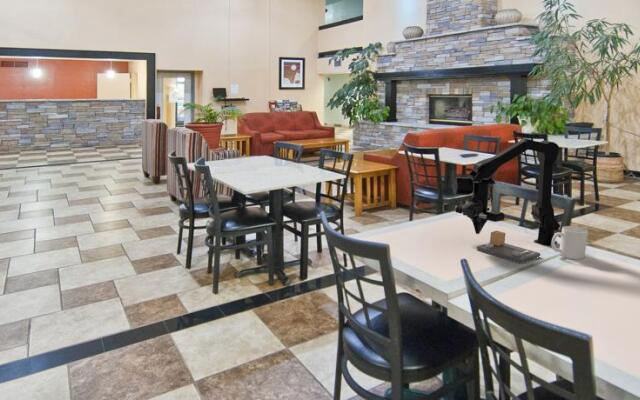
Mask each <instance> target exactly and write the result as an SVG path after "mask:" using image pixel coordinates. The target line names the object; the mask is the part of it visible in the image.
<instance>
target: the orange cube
mask: <svg viewBox="0 0 640 400" xmlns="http://www.w3.org/2000/svg"><path fill="white" fill-rule="evenodd" d="M489 243H493V244H494V245H497V246H500V245H503V244H505V243H506V232H504V231H500V230H495V231H491V232H490V238H489Z"/></svg>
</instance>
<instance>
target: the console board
mask: <svg viewBox="0 0 640 400" xmlns="http://www.w3.org/2000/svg"><path fill="white" fill-rule="evenodd" d="M476 251H479V252H481V253H485V254H488V255H492V256H495V257H498V258H501V259H504V260H506V261H507V260H508V261H510V260H511V261H510V262H513V261H515V263H517V262H519V263H518V264H520V263H522V264H524V263H523V262H525V263H527V262H526V261H528V262H530V261H529V260H531V259H533V260H535V259H534V258H536V259H538V258H537V257H539V256H540V257H541V252H538V251H535V250H530V249H527V248H523V247H520V246H518V245H517V246H516V245H513V244H509V243H506V242H505V244H503V245H500V246H497V245H494V244H493V243H490V242H486V243H485V244H481V245H478V246H476ZM540 257H539V258H540ZM531 261H532V260H531Z"/></svg>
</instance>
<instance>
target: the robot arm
mask: <svg viewBox="0 0 640 400" xmlns="http://www.w3.org/2000/svg"><path fill="white" fill-rule="evenodd" d="M529 150H530V151H533V152H536V157H537V160H538V164H539V172H538V173H539V174H538V175H539V176H538V187H537V188H538V190H537V194H538V195H537V201H536V203H535V204H531V213H530V215H532V219H533V220H534V221H535V223H536V225H538V226H539V227H538V234H537V239H534V240H533V242H534V243H537V244H542V245H545V246H549V247H550V246H552V245H551V243H552V238H553V236H554V235H555V234H556V231H559V230H560V228H561V224H560V223H559V222H558V221H557V220H556V219H555V218H556V217H555V209H554V207H553V204H552V192H553V191H552V190H553V189H552V188H553V179H554V177H553V175H554V174H553V173H554V165H555V163H556V162H557V160H558V157H559V154H560V146H559V145H558V143H556V142H554V141H550V140H546V139H545V140H541V141H538V140H537V141H536V140H532V139H530V138H527V137H523V138H521V139H520V140H519V141H517V142H516V143H513V144H512V145H511V146H509V147H507V148H506V149H504V150H502V151H500V152H499V153H498V154H496V155H494V156H492V157H488V158H484V159H482V160H479V161H477V162H476V163H475V164H474V165H473V167H472V170H471V171H470V172H469V173H468V175H466V177H463V176H462V177H461V176H456V177H454V179H455V180H454V182H453V184H452V193H453V195H454V196H455V195H456V196H467V195H468V196H469V195H471V194H472V196H470V199H469V202H467V203H461V204H458V205H456V206H455V209H454V210H455V211H454V212H455V213H457V214H462V216H466V217H467V218H469V219H470V220H471V222H472V224H473V228H474V232H475V234H476V235H480V233H481V232H482V230H483V227H485V225H486V224H487V222H488V221H489V222H494V223H497V222H502V221H505V216H506V215H505V214H504V212H502V211H498V210H494V211H490V207H488V205H489V201H491V197H489V195H490V194H489V193H490V185H495V184H496V181H494V180H493V178H492V177H491V176H493V175H494V174H495V173H497V171H498V170H499V168H501V167H502V166H503V165H505V164H507V163H509V162H510V161H512V160H514V159H515V158H517V157H518V156H520V155H522V154H524V153H525V152H526V151H529ZM557 243H558V241H557V240H555V245H556V244H557Z"/></svg>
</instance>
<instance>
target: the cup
mask: <svg viewBox="0 0 640 400" xmlns="http://www.w3.org/2000/svg"><path fill="white" fill-rule="evenodd" d="M588 234H589V229H586V228H584V227H580V226H574V225H565V226H562V228H561V232H559V231H558V232H555V235H554V236H553V238H552V243H551V245H550V246H551V249H552V250H553V251H555V252H558V253H559V255H560V257H562V258H564V259H569V260H574V261H575V260H576V261H577V260H579V261H580V260H583V259H584V258H585V256H586V250H587V249H586V248H587V244H588V243H587V242H588V236H589V235H588ZM557 237H560V242H559V248H557V247H556V244H555V241H556V239H557Z"/></svg>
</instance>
